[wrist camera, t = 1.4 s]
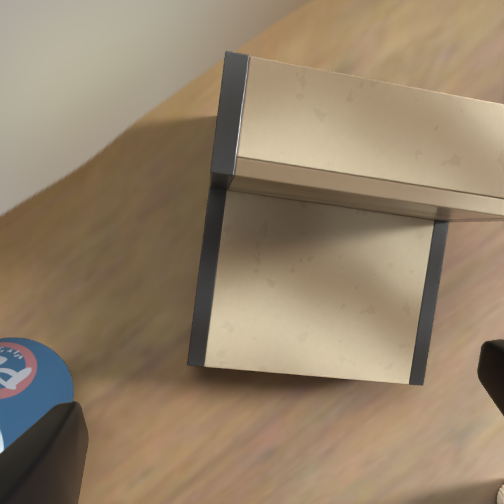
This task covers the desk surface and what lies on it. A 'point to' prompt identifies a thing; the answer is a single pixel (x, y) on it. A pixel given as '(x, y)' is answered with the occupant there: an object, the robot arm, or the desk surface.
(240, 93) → the shelf
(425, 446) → the desk surface
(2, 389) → the soda can
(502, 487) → the muffin
